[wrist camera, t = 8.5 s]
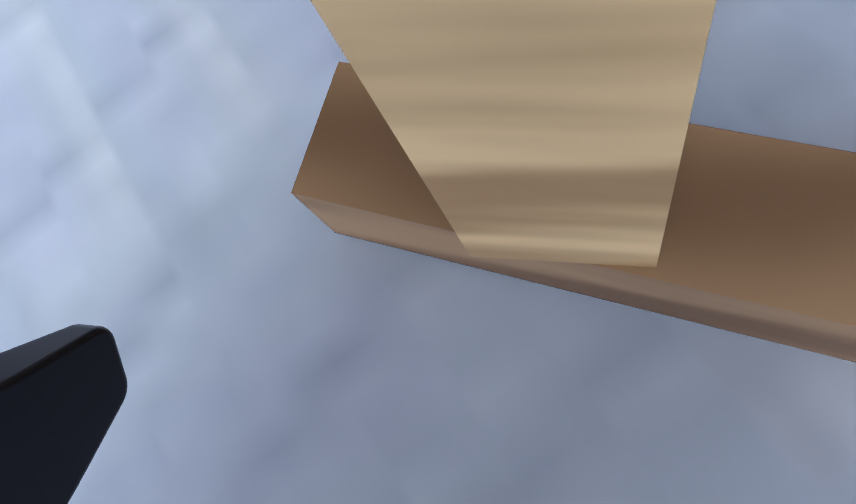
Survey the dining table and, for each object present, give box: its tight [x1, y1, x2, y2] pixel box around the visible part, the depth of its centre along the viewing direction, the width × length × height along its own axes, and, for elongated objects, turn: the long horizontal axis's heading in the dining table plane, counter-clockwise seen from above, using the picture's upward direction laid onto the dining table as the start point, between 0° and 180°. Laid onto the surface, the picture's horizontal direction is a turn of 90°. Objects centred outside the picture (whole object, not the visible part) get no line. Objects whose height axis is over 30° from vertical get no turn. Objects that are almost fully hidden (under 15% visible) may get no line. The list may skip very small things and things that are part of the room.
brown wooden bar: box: [291, 62, 856, 362], centre depth 20 cm, size 4×18×4 cm, turn 73°
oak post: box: [311, 0, 716, 267], centre depth 13 cm, size 4×4×12 cm
